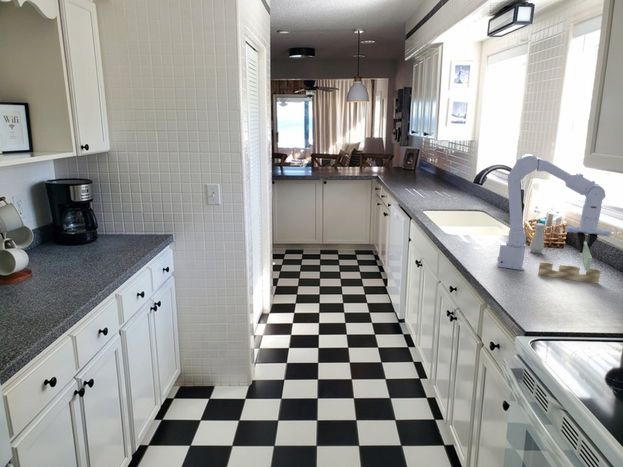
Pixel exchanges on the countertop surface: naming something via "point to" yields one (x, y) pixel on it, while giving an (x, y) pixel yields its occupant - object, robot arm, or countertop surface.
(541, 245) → the salt shaker
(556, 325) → the countertop surface
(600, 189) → the robot arm
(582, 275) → the maple slat
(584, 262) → the green plate
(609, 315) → the countertop surface
